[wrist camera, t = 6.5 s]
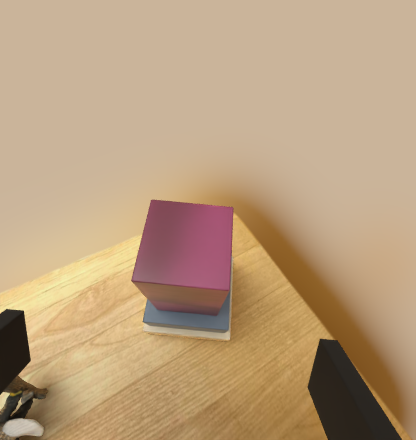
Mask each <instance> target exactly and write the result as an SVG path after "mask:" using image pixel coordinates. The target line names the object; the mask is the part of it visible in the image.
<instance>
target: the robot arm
mask: <svg viewBox="0 0 416 440" xmlns="http://www.w3.org/2000/svg"><path fill="white" fill-rule="evenodd" d="M30 361H31V359H30V352H29V345H28V338H27V331H26V324H25V317H24V311H21V310H10V309H6V310H5V311H3V312H2V313H1V314H0V395H1V393H2V392H3V391H4V390H5V389H6V388H7V387H8V386H9V384H10V383H11V382H12V381H13V380H14V379H15V378H16V377H17V376H18V374H19V373H20V372H21V371H22V370H23V369H24V368H25V367H26V365H27V364H28V363H29V362H30ZM308 390H309V392H310V395H311V397H312V400H313V402H314V405H315V408H316V410H317V413H318V415H319V418H320V420H321V423H322V425H323V428H324V430H325V433H326V436H327V438H328V440H402V439H401V437H400V436H399V434H398V433H397V431H396V430H395V428H394V427H393V425H392V424H391V422H390V421H389V419H388V417H387V416H386V414H385V413H384V411H383V410H382V408H381V407H380V405H379V404H378V402H377V401H376V399H375V397H374V396H373V394H372V393H371V391H370V390H369V388H368V387H367V385H366V384H365V382H364V381H363V379H362V378H361V376H360V374H359V373H358V371H357V370H356V368H355V367H354V365H353V364H352V362H351V361H350V359H349V358H348V356H347V354H346V353H345V351H344V350H343V348H342V347H341V345H340V344H339V342H338V341H337V340H327V339H320V341H319V345H318V349H317V352H316V356H315V360H314V364H313V368H312V372H311V376H310V380H309V384H308Z"/></svg>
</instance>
